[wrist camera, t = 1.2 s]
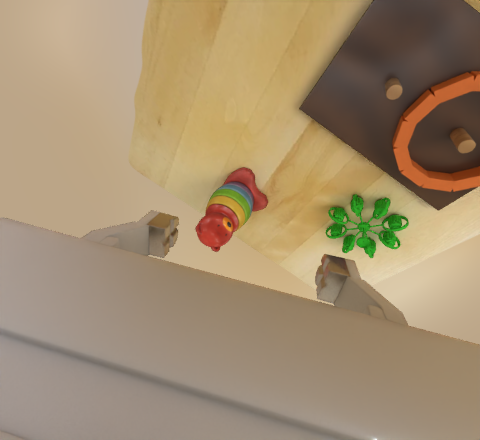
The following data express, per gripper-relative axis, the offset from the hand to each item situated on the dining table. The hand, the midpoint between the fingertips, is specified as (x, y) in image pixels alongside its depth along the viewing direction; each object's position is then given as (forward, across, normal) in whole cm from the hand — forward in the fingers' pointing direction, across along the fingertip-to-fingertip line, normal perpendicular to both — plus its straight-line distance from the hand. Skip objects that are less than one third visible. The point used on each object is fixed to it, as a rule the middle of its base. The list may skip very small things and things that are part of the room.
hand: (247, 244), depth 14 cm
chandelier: (+38, -21, +13) cm, 46 cm away
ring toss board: (+33, -20, -9) cm, 40 cm away
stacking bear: (+44, +5, +14) cm, 46 cm away
